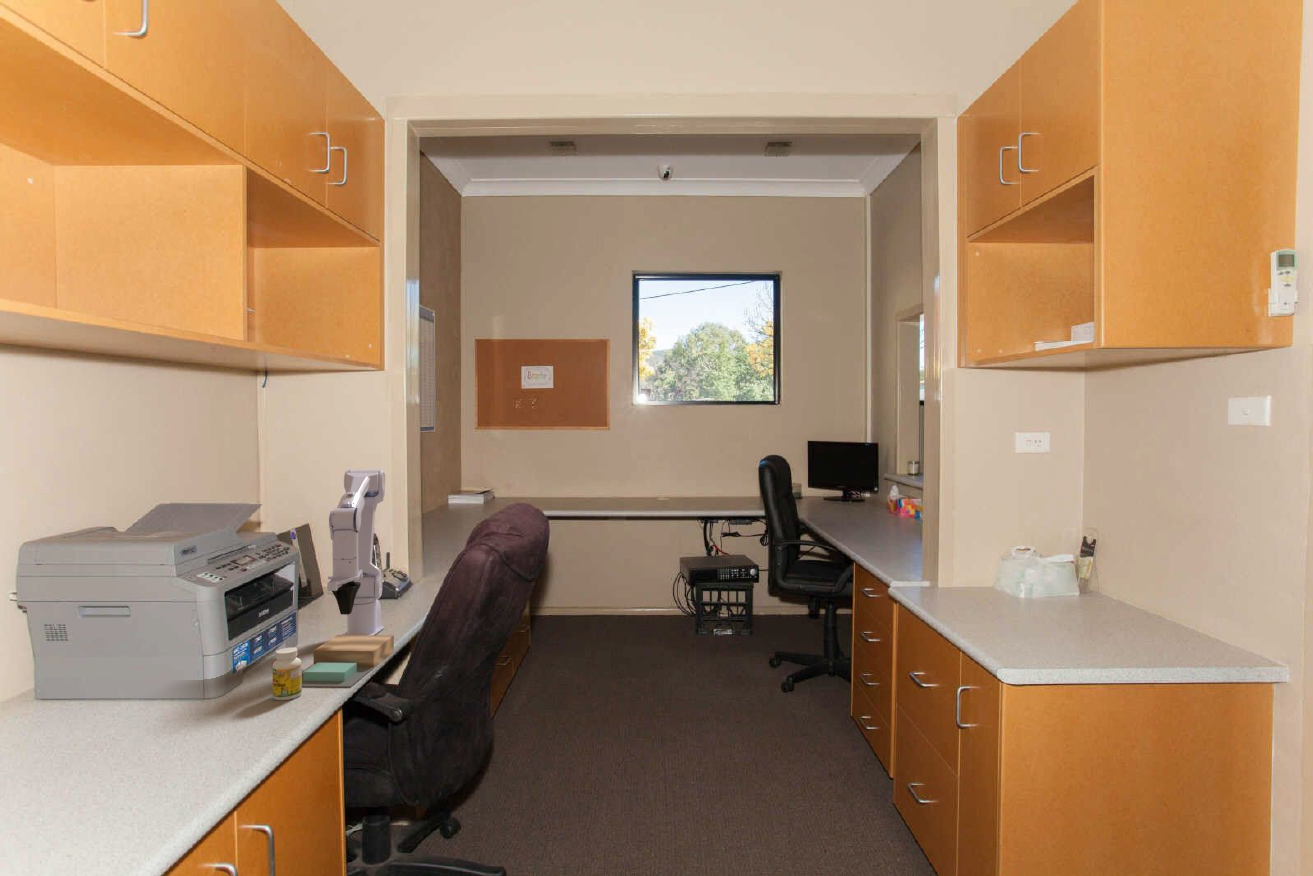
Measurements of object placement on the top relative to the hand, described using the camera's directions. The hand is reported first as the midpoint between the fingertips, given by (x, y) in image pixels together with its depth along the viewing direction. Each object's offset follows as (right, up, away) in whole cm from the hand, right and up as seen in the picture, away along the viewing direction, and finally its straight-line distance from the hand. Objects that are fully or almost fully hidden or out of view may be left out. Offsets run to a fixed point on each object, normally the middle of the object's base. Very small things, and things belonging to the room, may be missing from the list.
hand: (346, 613), depth 175 cm
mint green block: (+3, -9, -14) cm, 17 cm away
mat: (+3, -11, -14) cm, 18 cm away
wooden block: (+3, -11, -2) cm, 11 cm away
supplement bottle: (-2, -11, -25) cm, 27 cm away
